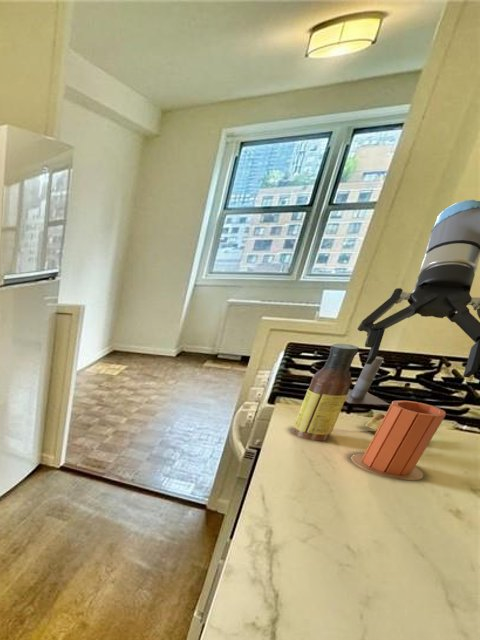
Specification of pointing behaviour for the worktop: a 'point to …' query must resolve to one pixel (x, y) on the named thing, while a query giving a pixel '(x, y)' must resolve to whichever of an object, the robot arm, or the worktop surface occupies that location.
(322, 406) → the sauce bottle
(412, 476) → the cork coaster
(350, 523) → the worktop surface
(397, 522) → the worktop surface
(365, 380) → the post stand
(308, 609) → the worktop surface
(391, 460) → the orange grooved cup
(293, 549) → the worktop surface
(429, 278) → the robot arm
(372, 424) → the pastry
